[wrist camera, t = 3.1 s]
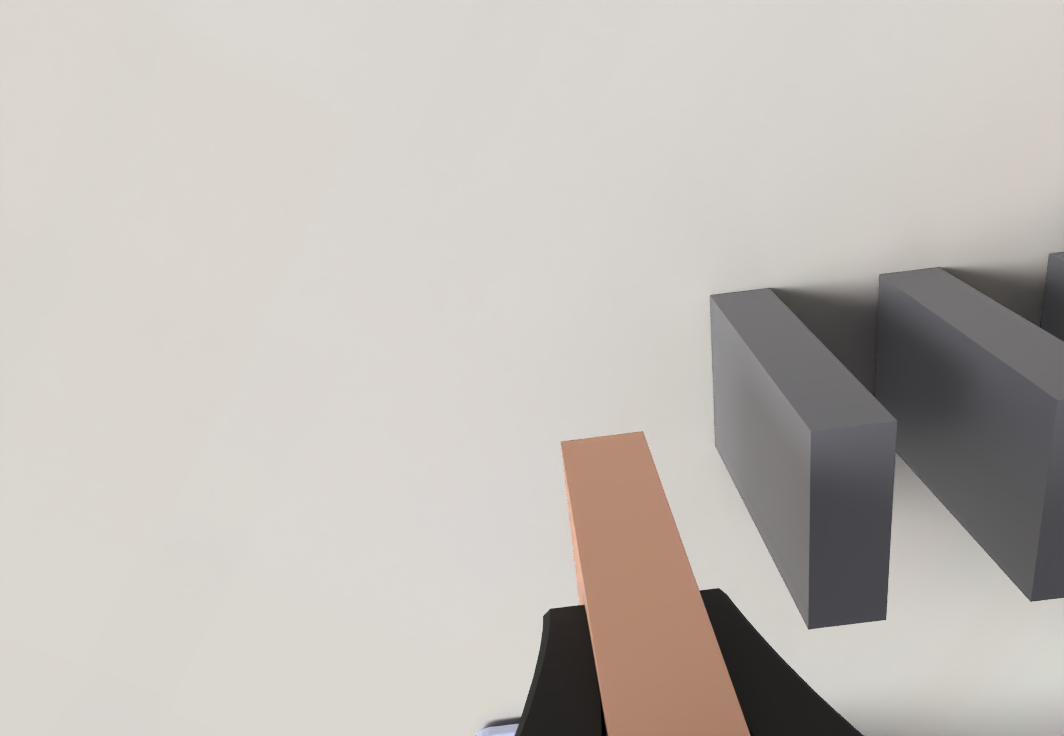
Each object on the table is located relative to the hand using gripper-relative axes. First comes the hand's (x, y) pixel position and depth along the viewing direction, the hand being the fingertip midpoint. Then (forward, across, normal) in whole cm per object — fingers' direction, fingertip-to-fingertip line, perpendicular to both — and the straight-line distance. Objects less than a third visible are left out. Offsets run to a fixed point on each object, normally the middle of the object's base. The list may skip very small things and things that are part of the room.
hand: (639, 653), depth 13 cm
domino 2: (+9, -4, 0) cm, 10 cm away
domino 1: (+3, 0, 0) cm, 3 cm away
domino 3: (+9, -8, 0) cm, 12 cm away
